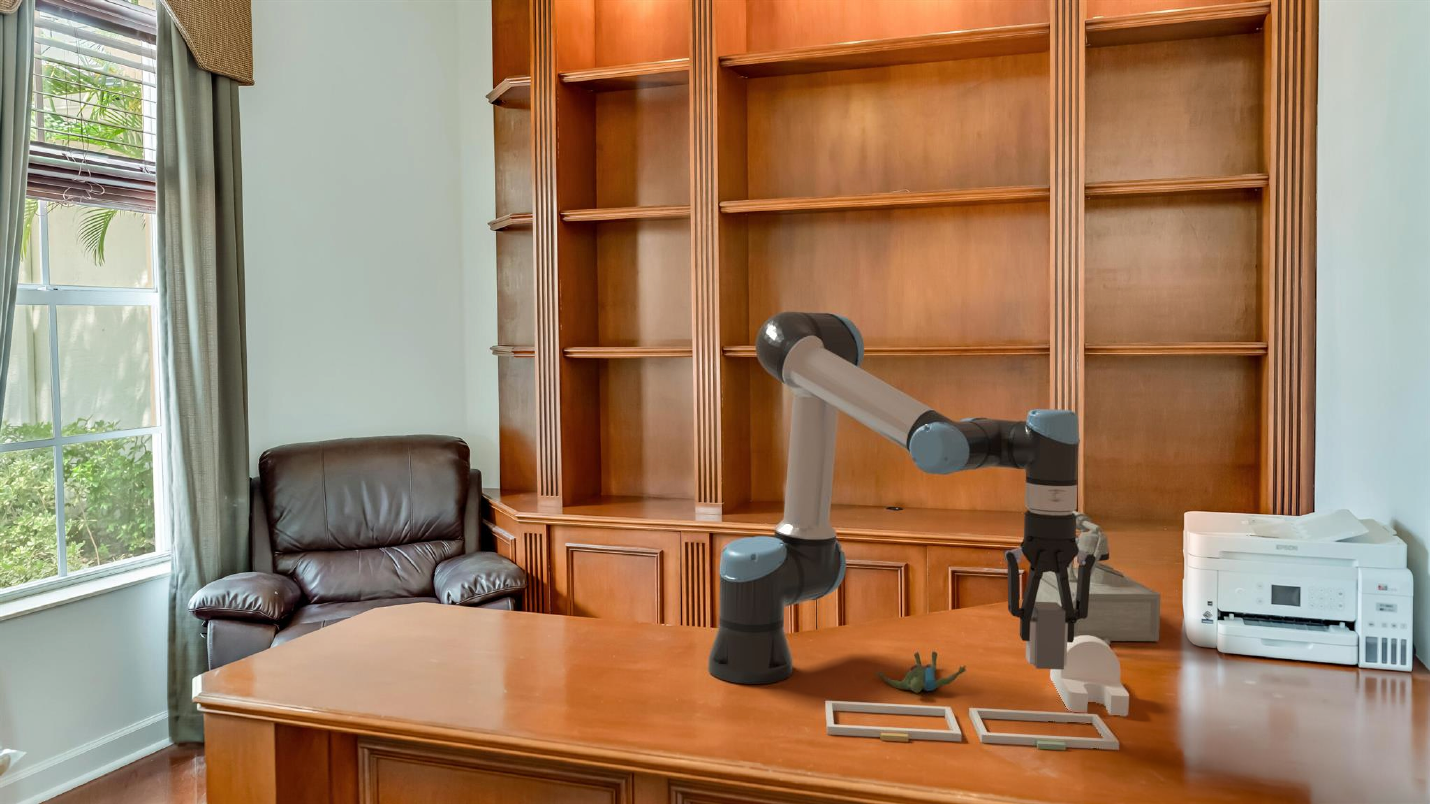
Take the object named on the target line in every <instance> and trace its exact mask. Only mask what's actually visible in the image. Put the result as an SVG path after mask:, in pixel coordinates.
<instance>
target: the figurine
mask: <svg viewBox="0 0 1430 804" xmlns="http://www.w3.org/2000/svg"><path fill="white" fill-rule="evenodd" d="M913 656H914V659H915V662H916V664H913V665H912V666H911V668H909V669H910V670H909V671H908V672H907V673H906V675H905V677H904V678H903V680H902V681H901V680H897V679H896V680H893V679H891V678H889V677H886V676H885V675H884V674H883V671H882V670H880V671H879V669H877V670H876V672H877V673H876V674H877V676H878V677H880V678H881V679H882V680H884V681H885V683H887V684H888V685H889V686H892V687H894V688H896V689H899V690H909V691H913V692H914V693H915V694H916V693H917V694H918V693H920V692H921V690H924V691H926V692H929V691H934V690H936V689H938V688H940V687H943V686H946V685H950V684H951V683H953V682H954V680H956V679H957V678H958V676H959V675H962V674H963V673H965V672H967V668H966V667H967V665H966V664H964V665H963V666H962V665H960V667H959V668H958V671H957V672H955V673H953V674H951V675H949V676H948V677H941V678H937V679H936V677H935V672H936V667H937V657H938V653H937V651H934V650H932V652H931V663H927V664H926V665H925V666H924V665H922V660H921V657H920V653H919V651H917V652H915V653H914V655H913Z"/></svg>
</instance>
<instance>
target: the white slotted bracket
mask: <svg viewBox="0 0 1430 804" xmlns="http://www.w3.org/2000/svg"><path fill="white" fill-rule="evenodd" d="M1049 670H1050V671H1049V672H1050V673H1049V675H1050V676H1049V678H1050V680H1051V682H1052V681H1053V682H1052V684H1053V683H1054V684H1053V686H1054V685H1055V686H1054V688H1055V687H1056V688H1055V690H1056V689H1057V690H1056V692H1057V691H1058V692H1057V693H1059V694H1058V695H1060V696H1059V697H1061V698H1060V700H1061V699H1062V700H1061V702H1062V701H1063V702H1064V704H1065V706H1066V707H1065V706H1064V707H1065V709H1066V708H1067V709H1068V710H1070V711H1079V712H1087V713H1088V701H1089V702H1091V701H1093V702H1098V703H1101V704H1103V705H1104V706H1106V708H1105V709H1106V711H1107V710H1108V711H1107V713H1108V714H1109V713H1110V714H1109V716H1113V715H1120V716H1119V717H1127V715H1128V716H1129V707H1130V706H1129V702H1130V694H1129V692H1128V690H1127V689H1126V688H1125V686H1124V685H1123V684H1122V682H1121V663H1120V661H1119V658H1118V656H1117V655H1116V654H1115V652H1114V651H1113V650H1112V648H1111V647H1110V645H1108V644H1107V643H1105V642H1104V641H1103V640H1101V639H1099V638H1097V637H1094V636H1089V635H1083V636H1077V637H1074V640H1073V642H1072V643H1071V642H1067V665H1064V670H1063V669H1049ZM1063 702H1062V703H1063ZM1064 704H1063V705H1064ZM1101 704H1100V705H1101ZM1103 705H1102V706H1103ZM1104 706H1103V707H1104ZM1067 709H1066V710H1067ZM1068 710H1067V711H1068ZM1070 711H1069V712H1070Z"/></svg>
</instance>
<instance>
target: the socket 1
mask: <svg viewBox="0 0 1430 804" xmlns="http://www.w3.org/2000/svg"><path fill="white" fill-rule="evenodd" d="M824 702H825V704H824V705H825V707H824V709H825V719H826V720H825V723H826V735H835V736H848V737H849V736H851V737H852V736H853V737H854V736H855V737H870V738H871V737H873V738H880V740H881V741H887V742H888V741H889V742H909V739H910V740H925V741H928V740H929V741H945V742H947V741H948V742H962V732H961V729H960V727H959V725H958V723H957V722H958V721H957V719H956V718H955V715H954V712H953V710H952V707H951V706H941V705H940V706H937V705H920V704H918V705H917V704H903V703H902V704H900V703H899V704H897V703H882V702H881V703H880V702H861V701H844V700H843V701H838V700H837V701H836V700H825V701H824ZM834 711H836V712H837V711H838V712H856V713H877V714H892V715H893V714H896V715H911V716H912V715H914V716H915V715H917V716H934V717H944V718H945V721H946V723H947V726H948V728H949V729H948V730H947V729H946V730H945V729H928V728H927V729H926V728H911V727H907V728H906V727H889V726H888V727H887V726H870V725H869V726H867V725H855V724H854V725H850V724H835V722H834V721H835V720H834Z"/></svg>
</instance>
